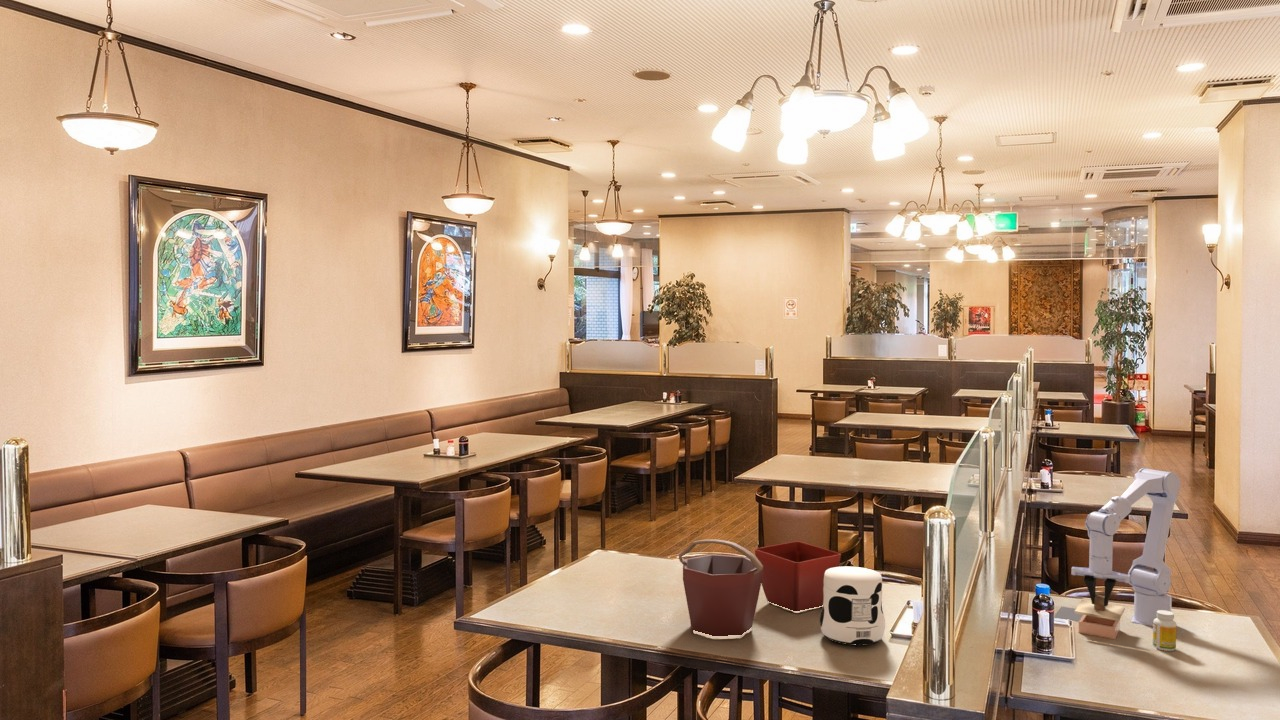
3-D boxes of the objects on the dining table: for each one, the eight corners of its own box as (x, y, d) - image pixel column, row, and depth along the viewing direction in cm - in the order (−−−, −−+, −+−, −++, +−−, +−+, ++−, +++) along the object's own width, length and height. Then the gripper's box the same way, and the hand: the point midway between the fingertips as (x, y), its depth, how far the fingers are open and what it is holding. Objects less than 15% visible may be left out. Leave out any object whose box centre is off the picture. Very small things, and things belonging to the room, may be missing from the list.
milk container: (842, 624, 258) (843, 561, 257) (897, 639, 245) (897, 574, 245) (807, 638, 246) (807, 573, 245) (862, 655, 233) (863, 586, 233)
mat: (1113, 616, 265) (1113, 615, 265) (1106, 627, 255) (1106, 626, 255) (1061, 607, 273) (1061, 606, 273) (1053, 618, 263) (1053, 616, 263)
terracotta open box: (1119, 631, 252) (1120, 619, 252) (1114, 640, 245) (1115, 628, 244) (1084, 625, 257) (1084, 613, 257) (1078, 634, 250) (1078, 621, 250)
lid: (1124, 609, 252) (1125, 594, 252) (1119, 620, 243) (1119, 605, 243) (1081, 602, 258) (1081, 587, 258) (1074, 613, 250) (1074, 598, 249)
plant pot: (842, 608, 272) (843, 553, 271) (796, 620, 261) (796, 562, 261) (797, 592, 288) (798, 540, 287) (752, 603, 277) (752, 548, 276)
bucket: (662, 628, 253) (662, 540, 252) (711, 610, 270) (711, 527, 269) (732, 650, 237) (732, 556, 236) (779, 629, 253) (780, 541, 252)
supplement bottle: (1148, 646, 240) (1148, 610, 240) (1161, 643, 243) (1161, 608, 242) (1167, 653, 236) (1168, 616, 235) (1180, 649, 238) (1181, 613, 238)
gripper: (1069, 554, 251) (1068, 603, 251) (1128, 562, 243) (1127, 612, 243) (1074, 549, 257) (1073, 596, 257) (1131, 557, 248) (1130, 606, 249)
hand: (1099, 604), depth 251 cm, fingers closed on lid, 2 cm apart
